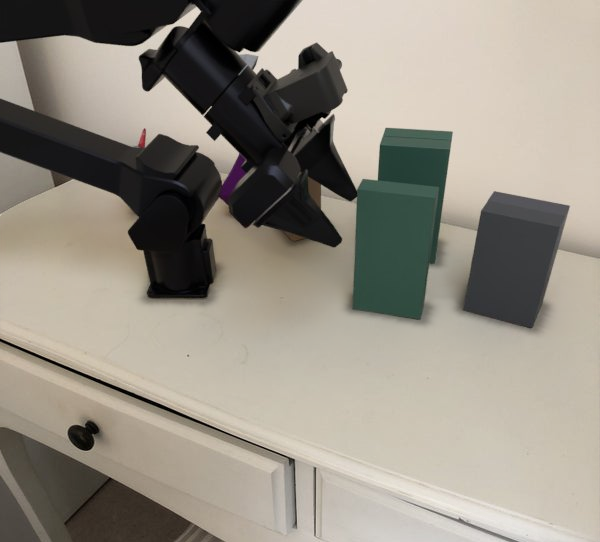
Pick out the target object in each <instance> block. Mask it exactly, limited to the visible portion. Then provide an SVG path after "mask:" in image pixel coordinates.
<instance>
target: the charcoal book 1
mask: <svg viewBox="0 0 600 542" xmlns="http://www.w3.org/2000/svg"><path fill="white" fill-rule="evenodd" d="M564 219H565V216H563V215H558V214H553V213H548V212H543V211H538V210H533V209H528V208H523V207H518V206H513V205H508V204H503V203H498V202H493V201H488V200H487V201H486V203H484V206H483V207H482V208H481V210H480V215H479V220H478V225H477V229H476V237H475V242H474V246H473V247H474V248H473V252H472V253H473V254H472V259H471V263H470V269H469V275H468V280H467V285H466V291H465V295H464V302H463V309H462V311H465V312H469V313H473V314H475V315H480V316H483V317H488V318H492V319H495V320H499V321H503V322H507V323H511V324H515V325H518V326H521V327H526V328H530V329H533V327H534V325H535V323H536V320H537V318H538V315H539V313H540V311H539V308H540V305H541V301H542V298H543V294H544V291H545V287H546V283H547V280H548V276H549V273H550V269H551V266H552V262H553V259H554V255H555V251H556V248H557V244H558V241H559V237H560V234H561V230H562V227H563V223H564ZM538 312H539V313H538Z"/></svg>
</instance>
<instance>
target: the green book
mask: <svg viewBox="0 0 600 542" xmlns="http://www.w3.org/2000/svg"><path fill="white" fill-rule="evenodd" d="M356 190H357V197H356V209H355V210H356V212H355V233H354V235H355V238H354V263H353V283H352V284H353V285H352V287H353V289H352V310H357V311H363V312H369V313H370V312H371V313H375V314H382V315H388V316H395V317H402V318H408V319H414V320H421V318H422V315H423V312H424V311H423V310H424V307H425V300H426V299H425V298H426V291H427V286H428V285H427V284H428V276H429V269H430V263H429V262H430V254H431V246H432V239H433V231H434V223H435V216H436V208H437V200H438V193H439V187H435V186H425V185H416V184H406V183H397V182H388V181H378V179H368V178H362V179H361V180H360V183H359V185H358V186H357V188H356Z"/></svg>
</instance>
